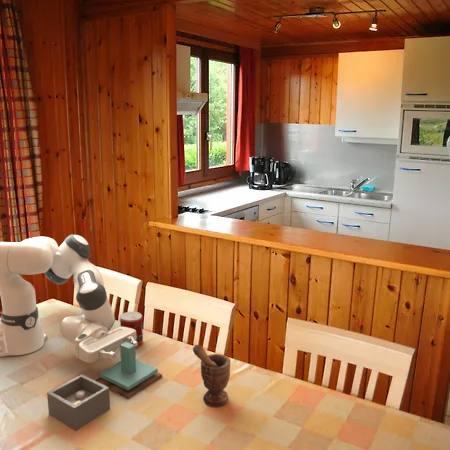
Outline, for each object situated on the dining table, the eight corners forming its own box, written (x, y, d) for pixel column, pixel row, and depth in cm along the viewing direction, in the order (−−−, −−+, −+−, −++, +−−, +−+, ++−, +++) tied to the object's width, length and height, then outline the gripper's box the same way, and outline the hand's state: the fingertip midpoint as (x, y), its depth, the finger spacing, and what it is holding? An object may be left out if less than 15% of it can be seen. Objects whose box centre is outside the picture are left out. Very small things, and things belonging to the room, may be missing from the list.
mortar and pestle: (214, 417, 137) (214, 353, 132) (189, 408, 141) (188, 345, 136) (234, 397, 147) (235, 337, 142) (210, 388, 151) (211, 329, 146)
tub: (48, 414, 138) (47, 392, 136) (83, 394, 147) (81, 374, 145) (76, 430, 131) (74, 408, 129) (110, 409, 140) (109, 387, 139)
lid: (99, 379, 154) (97, 347, 151) (129, 362, 164) (128, 331, 161) (128, 393, 146) (126, 359, 144) (157, 374, 157) (157, 343, 154)
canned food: (138, 349, 175) (137, 321, 172) (117, 347, 176) (116, 319, 174) (146, 339, 182) (145, 312, 179) (126, 337, 184) (124, 310, 181)
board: (94, 382, 154) (94, 379, 153) (129, 362, 166) (129, 360, 165) (127, 399, 145) (127, 396, 145) (162, 377, 157) (162, 374, 157)
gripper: (120, 335, 170) (148, 346, 162) (71, 359, 154) (100, 373, 146) (119, 319, 169) (148, 329, 161) (70, 341, 152) (99, 354, 145)
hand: (125, 350), depth 153 cm, fingers open, 8 cm apart
